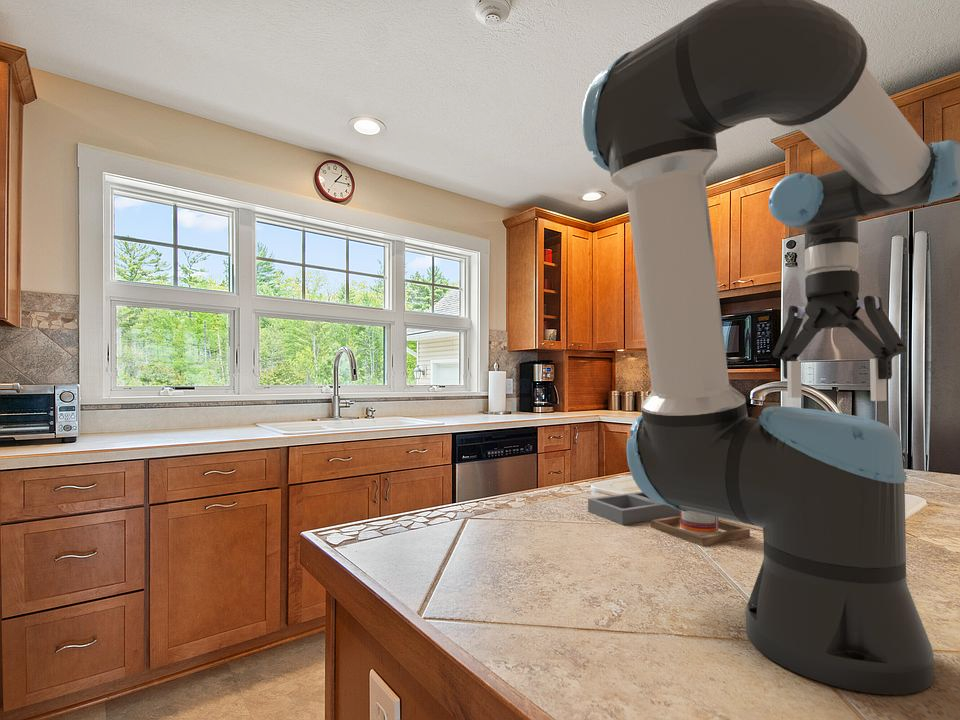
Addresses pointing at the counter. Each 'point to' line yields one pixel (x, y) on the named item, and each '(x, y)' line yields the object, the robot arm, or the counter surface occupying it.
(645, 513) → the grey shallow tray
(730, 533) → the walnut frame
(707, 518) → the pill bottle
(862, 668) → the robot arm
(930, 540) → the counter surface
